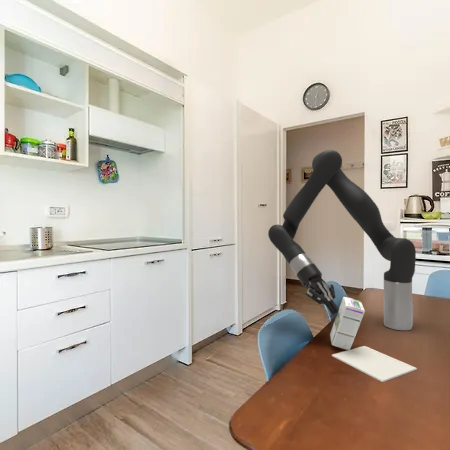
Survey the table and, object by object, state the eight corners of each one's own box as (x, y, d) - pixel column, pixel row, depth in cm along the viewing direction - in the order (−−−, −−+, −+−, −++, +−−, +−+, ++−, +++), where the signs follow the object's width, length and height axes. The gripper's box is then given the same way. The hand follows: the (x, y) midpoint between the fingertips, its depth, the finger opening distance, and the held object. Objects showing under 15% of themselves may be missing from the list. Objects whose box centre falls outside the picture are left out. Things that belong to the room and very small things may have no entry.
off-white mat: (364, 347, 93) (364, 345, 93) (416, 369, 79) (416, 368, 79) (331, 356, 87) (331, 354, 87) (382, 382, 72) (382, 380, 72)
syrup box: (350, 351, 90) (366, 311, 85) (330, 345, 91) (345, 305, 86) (347, 339, 95) (362, 301, 91) (328, 333, 96) (343, 295, 92)
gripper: (298, 264, 98) (331, 310, 88) (323, 261, 105) (356, 303, 95) (286, 278, 102) (316, 323, 92) (311, 274, 110) (341, 315, 100)
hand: (336, 312), depth 94 cm, fingers closed
